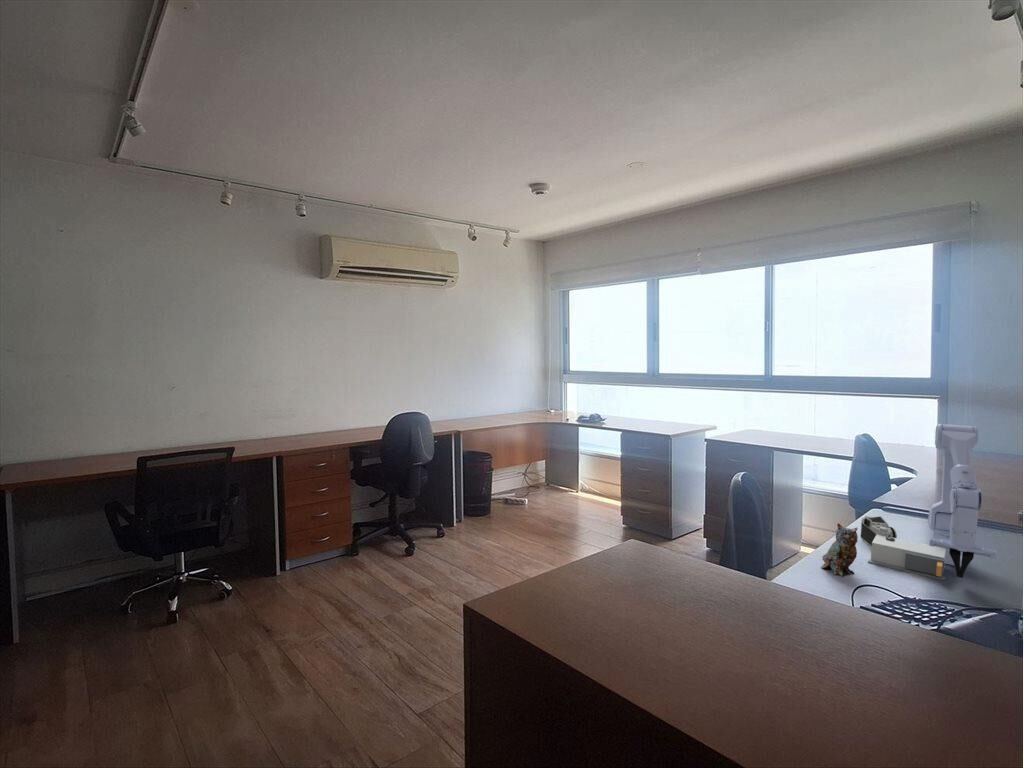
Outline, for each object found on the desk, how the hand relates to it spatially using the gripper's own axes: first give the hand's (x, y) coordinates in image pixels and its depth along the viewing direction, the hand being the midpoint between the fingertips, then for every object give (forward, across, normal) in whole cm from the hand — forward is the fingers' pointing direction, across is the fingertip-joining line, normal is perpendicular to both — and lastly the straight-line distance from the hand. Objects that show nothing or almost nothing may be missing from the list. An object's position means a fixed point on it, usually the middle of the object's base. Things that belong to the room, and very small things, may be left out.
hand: (959, 576), depth 155 cm
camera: (+3, -21, +22) cm, 31 cm away
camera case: (+3, -13, +8) cm, 15 cm away
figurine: (+3, -28, -12) cm, 30 cm away
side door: (+2, -8, +1) cm, 9 cm away
